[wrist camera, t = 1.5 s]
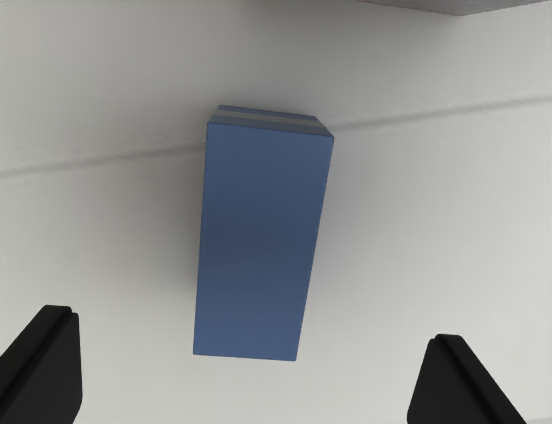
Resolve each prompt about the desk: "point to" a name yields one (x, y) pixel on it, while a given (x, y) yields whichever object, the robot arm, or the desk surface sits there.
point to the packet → (258, 231)
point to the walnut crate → (455, 5)
